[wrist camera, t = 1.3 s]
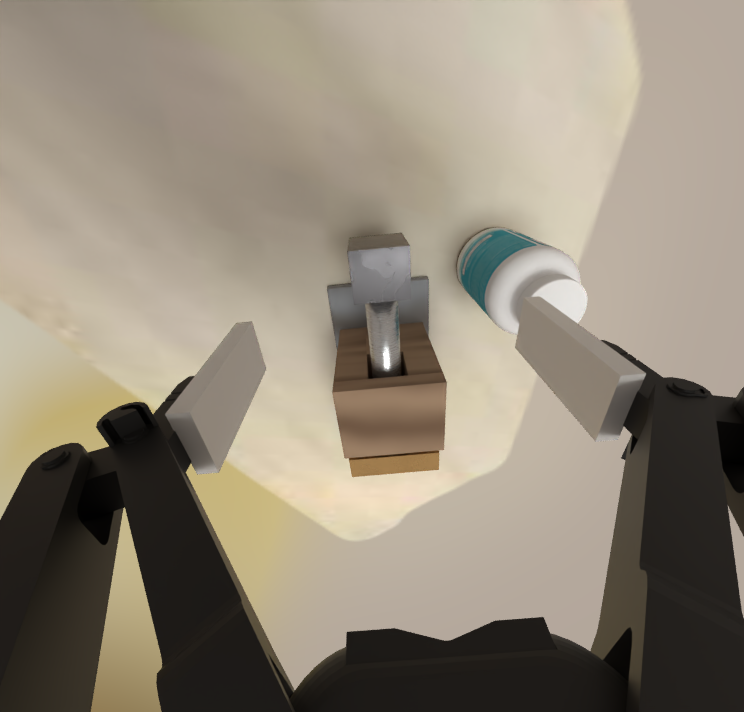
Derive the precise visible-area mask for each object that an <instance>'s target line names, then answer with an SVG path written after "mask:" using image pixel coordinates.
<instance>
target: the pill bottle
mask: <svg viewBox="0 0 744 712" xmlns="http://www.w3.org/2000/svg"><path fill="white" fill-rule="evenodd" d="M457 274H458V278H459V281H460V283H461V285H462V286H463V288H464V289H465V290H466V291H467V292H468V294H469V295H470V296H471V297H472V298H473V299H474V300H475V301H476V303H477V304H478V305H479V306H480V307H481V308H482V309H483V311H484V312H485V313H486V314H487V315H488V316H489V317H490V319H491V320H492V321H493V322H494V323H495V324H496V325H497V326H498V327H499V328H501V329H502V330H504V331H506V332H509V333H511V334H515V335H517V334H518V328H519V323H520V317H521V311H522V305H523V299H524V298H525V297H537V296H540V297H542V298H543V299H544V300H546V301H547V302H548V303H550V304H551V305H553V306H554V307H555V308H557V309H558V310H559V311H561V312H562V313H564V314H565V315H566V316H568V317H569V318H570V319H572V320H573V321H575V322H576V323H578V322H579V321H580V319H581V318H582V316H583V314H584V312H585V310H586V307H587V293H586V290H585V289H584V287H583V286H582V285H581V279H580V273H579V269H578V267H577V265H576V263H575V262H574V260H573V259H572V258H571V257H570V256H569V255H568V254H566V253H564V252H563V251H561V250H559V249H556V248H554V247H552V246H549V245H547V244H544V243H542V242H539V241H537V240H535V239H532V238H530V237H527V236H525V235H523V234H520V233H518V232H516V231H513V230H510V229H507V228H500V227H497V228H490V229H487V230H484V231H482V232H480V233H478V234H477V235H475V236H474V237H473V238H471V239H470V240H469V241H468V243H467V244H466V245H465V246H464V248H463V249H462V251H461V253H460V256H459V259H458V263H457Z"/></svg>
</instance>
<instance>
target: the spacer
mask: <svg viewBox="0 0 744 712" xmlns="http://www.w3.org/2000/svg"><path fill="white" fill-rule="evenodd" d="M349 462H350V468H351V473H352V477H358V476H370V475H381V474H393V473H405V472H417V471H429V470H439V450H437V451H426V452H414V453H402V454H391V455H379V456H367V457H356V458H349Z"/></svg>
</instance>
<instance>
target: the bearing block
mask: <svg viewBox="0 0 744 712" xmlns="http://www.w3.org/2000/svg"><path fill="white" fill-rule="evenodd" d="M327 291H328V297H329V303H330V309H331V315H332V321H333V327H334V333H335V340H336V346H337V358H336V367H335V375H334V383H333V391H332V393H333V398H334V404H335V409H336V415H337V420H338V425H339V431H340V436H341V441H342V447H343V452H344V458H356V457H367V456H379V455H391V454H402V453H414V452H426V451H437V450H444V435H445V410H446V386H447V382H446V379H445V377H444V374H443V372H442V369H441V367H440V365H439V362H438V360H437V357H436V355H435V352H434V350H433V347H432V345H431V342H430V340H429V337H428V323H429V279H428V277H417V278H411V300H401V301H398V311H399V333H400V354H401V376H396V377H385V378H374V379H373V376H372V366H371V356H370V347H369V337H368V327H367V318H366V308H365V304H358V305H354V301H353V293H352V285H351V284H342V285H332V286H328V288H327Z"/></svg>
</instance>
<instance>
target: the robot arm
mask: <svg viewBox="0 0 744 712" xmlns="http://www.w3.org/2000/svg"><path fill="white" fill-rule="evenodd" d="M515 348H516V349H517V350H518V351H519V353H520V354H521V355H522V356H523V357H524V359H525V360H526V361H527V362H528V363H529V364H530V366H531V367H532V368H533V369H534V370H535V371H536V373H537V374H538V375H539V376H540V377H541V378H542V380H543V381H544V382H545V383H546V384H547V385H548V387H550V389H551V390H552V391H553V392H554V394H555V395H556V396H557V397H558V398H559V399H560V400H561V402H562V403H563V404H564V405H565V407H566V408H567V409H568V410H569V411H570V412H571V414H572V415H573V416H574V417H575V418H576V419H577V420H578V421H579V422H580V424H581V425H582V426H583V428H584V429H585V430H586V431H587V432H588V433H589V435H590V436H591V437H592V438H593V439H594V440H595V442H596V441H608V440H618V438H619V436H620V433H621V431H622V429H623V426H624V427H626V429H627V430H628V431H629V432H630V433H631V434H632V436H631V438H630V440H629V442H628V444H627V447H626V449H625V451H624V453H623V455H622V457H621V458H622V459H624V460H625V459H626V460H625V467H624V472H623V479H622V485H621V491H620V498H619V503H618V509H617V516H616V522H615V528H614V535H613V540H612V547H611V552H610V559H609V565H608V571H607V577H606V583H605V589H604V596H603V602H602V608H601V615H600V620H599V625H598V630H597V634H596V637H595V639H594V642H593V645H592V648H591V651H588V650H587V649H586V648H584V647H582V646H580V645H578V644H576V643H574V642H572V641H570V640H568V639H565V638H562V637H560V636H557V635H554V634H550V632H549V630H548V627H547V625H546V622H545V620H544V618H543V617H539V618H527V619H526V618H525V619H512V620H499V621H493V622H491V623H489V624H487V625H484V626H483V627H480V628H478V629H475V630H473V631H471V632H469V633H466V634H464V635H462V636H460V637H458V638H455V639H453V640H450V641H443V640H439V639H435V638H431V637H427V636H423V635H419V634H415V633H411V632H407V631H403V630H399V629H395V628H393V629H380V630H368V631H353V632H347V642H346V647H345V648H343V649H341V650H339V651H337V652H335V653H334V654H332V655H330V656H329V657H327V658H326V659H324V660H323V661H322V662H321V663H320V664H318V665H317V666H316V667H315V668H314V669H313V670H312V671H311V672H310V673H309V674H308V675H307V676H306V677H305V678H304V680H303V681H302V682H301V683H300V685H299V686H298V687H297V689H296V690H294V688H293V686H292V685H291V683H290V681H289V679H288V677H287V675H286V673H285V671H284V669H283V667H282V666H281V663H280V662H279V660H278V658H277V656H276V654H275V652H274V650H273V648H272V646H271V644H270V642H269V640H268V638H267V636H266V634H265V632H264V630H263V628H262V626H261V624H260V622H259V620H258V618H257V616H256V614H255V612H254V610H253V608H252V606H251V604H250V602H249V600H248V597H247V595H246V594H245V592H244V589H243V587H242V585H241V583H240V581H239V579H238V577H237V575H236V573H235V571H234V569H233V567H232V565H231V563H230V561H229V559H228V557H227V555H226V553H225V551H224V549H223V547H222V545H221V543H220V541H219V539H218V537H217V535H216V533H215V531H214V529H213V527H212V524H211V522H210V521H209V518H208V516H207V515H206V512H205V510H204V508H203V506H202V504H201V502H200V500H199V498H198V496H197V494H196V492H195V490H194V488H193V486H192V484H191V482H190V480H189V478H188V476H187V474H186V471H187V469H188V467H189V465H190V464H192V466H193V467H194V469H195V471H196V473H197V474H207V473H218V472H219V471H220V469H221V467H222V464H223V462H224V460H225V458H226V456H227V454H228V451H229V449H230V447H231V445H232V443H233V441H234V438H235V436H236V434H237V432H238V430H239V428H240V425H241V423H242V421H243V419H244V417H245V414H246V412H247V410H248V408H249V406H250V404H251V401H252V399H253V397H254V395H255V393H256V390H257V388H258V386H259V384H260V382H261V380H262V377H263V375H264V373H265V371H266V367H265V363H264V360H263V356H262V353H261V350H260V346H259V343H258V340H257V336H256V333H255V330H254V326H253V323H252V322H242V323H236V324H235V325H234V327H233V328H232V329H231V331H230V332H229V333H228V334H227V336H226V337H225V338H224V339H223V341H222V342H221V343H220V345H219V346H218V347H217V348H216V350H215V351H214V352H213V354H212V355H211V356H210V357H209V359H208V360H207V361H206V362H205V364H204V365H203V366H202V368H201V369H200V370H199V371H198V373H197V374H196V375H195V376H190V377H188V378H186V379H185V380H184V381H182V382H181V383H179V384H178V385H177V386H176V388H175V389H174V390H173V391H172V392H171V394H170V395H169V396H168V397H167V398H166V400H165V402H163V403H162V404H161V406H160V407H159V408H158V409H157V410H156V412H155V413H154V414H152V412H151V411H150V409H149V407H148V405H146V404H145V403H142V402H134V403H128V404H125V405H122V406H119V407H118V408H116V409H113V410H111V411H110V412H108V413H107V414H105V415H104V416H103V417H102V418H101V419H100V420H99V421H98V422H97V426H96V428H97V429H98V430H99V432H100V433H101V435H102V436H103V437H104V439H105V440H106V442H107V443H108V445H109V447H106V448H103V449H99V450H96V451H92V452H89V453H88V452H87V451H86V450H85V449H84V447H83V446H82V445H80V444H79V443H69V444H65V445H61V446H59V447H56V448H53V449H51V450H49V451H47V452H45V453H43V454H42V455H40V457H38V458H37V459H36V460H35V461H33V462H32V463H31V465H30V466H29V467H28V468H27V470H26V472H25V473H24V475H23V477H22V479H21V481H20V483H19V485H18V487H17V489H16V491H15V493H14V495H13V497H12V499H11V500H10V502H9V505H8V506H7V508H6V510H5V512H4V514H3V516H2V518H1V520H0V712H91V706H92V699H93V693H94V687H95V681H96V674H97V668H98V662H99V656H100V649H101V643H102V637H103V631H104V625H105V619H106V613H107V606H108V599H109V594H110V588H111V581H112V575H113V569H114V563H115V556H116V550H117V544H118V538H119V531H120V525H121V519H122V513H123V508H124V507H125V509H126V513H127V517H128V521H129V526H130V529H131V534H132V538H133V542H134V546H135V550H136V554H137V558H138V562H139V567H140V571H141V574H142V579H143V583H144V587H145V591H146V595H147V599H148V603H149V607H150V611H151V616H152V620H153V624H154V628H155V632H156V636H157V640H158V645H159V648H160V653H161V657H162V668H161V670H160V671H159V672H158V673H157V682H156V683H157V690H158V696H159V701H160V706H161V711H162V712H744V618H743V615H742V611H741V603H740V595H739V588H738V580H737V573H736V565H735V558H734V550H733V543H732V535H731V528H730V521H729V513H728V506H729V508H730V510H731V512H732V514H733V516H734V518H735V520H736V522H737V524H738V526H739V528H740V530H741V532H742V534H743V536H744V387H743V388H742V389H741V391H740V392H739V394H738V396H737V397H736V398H733V397H723V396H713V395H712V394H711V393H710V391H708V390H707V389H706V388H704V387H703V386H700V385H698V384H696V383H694V382H691V381H687V380H685V379H679V378H673V377H669V378H663V377H661V376H660V375H659V374H657V373H656V372H654V371H653V370H652V369H650V368H649V367H647V366H646V365H644V364H643V363H642V362H640V361H639V360H636V358H634V357H633V356H632V355H630V354H628V353H627V352H626V351H624V350H623V349H622V348H620V347H619V346H617V345H615V344H612V343H610V342H607V341H604V340H599V339H598V338H597V337H595V336H594V335H593V334H591V333H590V332H588V331H587V330H586V329H584V328H583V327H582V326H580V325H579V324H577V323H576V322H575V321H573V320H572V319H570V318H569V317H568V316H566V315H565V314H564V313H562V312H561V311H559V310H558V309H557V308H555V307H554V306H553V305H551V304H550V303H548V302H547V301H546V300H544V299H543V298H542V297H540V296H537V297H525V298H524V299H523V305H522V311H521V317H520V323H519V328H518V334H517V340H516V346H515ZM727 504H728V505H727Z"/></svg>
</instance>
